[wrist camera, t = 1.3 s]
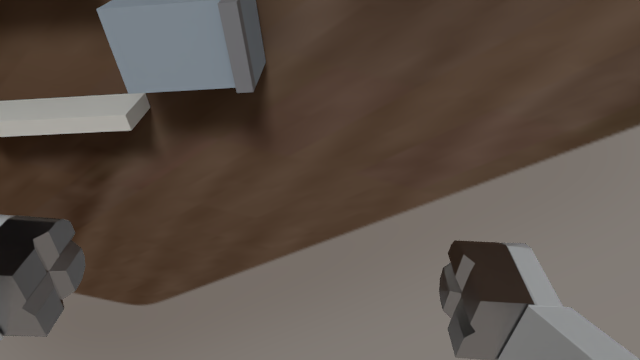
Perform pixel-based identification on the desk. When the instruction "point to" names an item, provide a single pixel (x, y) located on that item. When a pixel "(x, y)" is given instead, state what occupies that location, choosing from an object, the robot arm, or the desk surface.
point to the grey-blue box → (185, 44)
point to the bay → (72, 114)
